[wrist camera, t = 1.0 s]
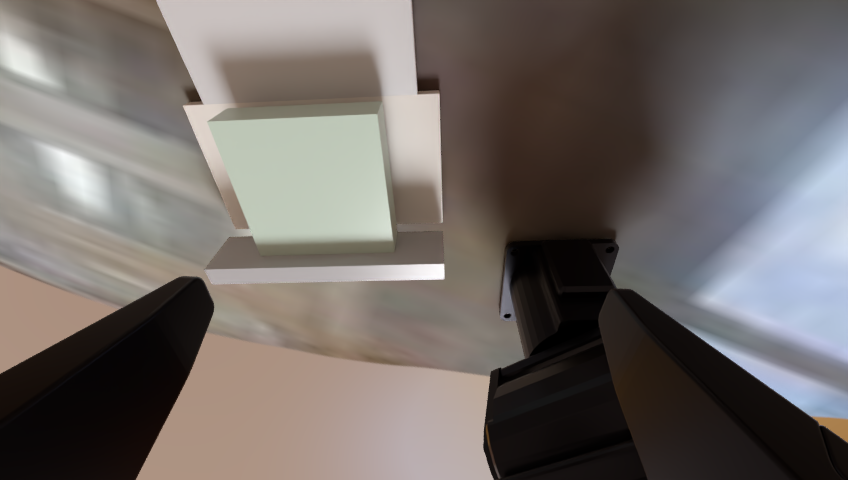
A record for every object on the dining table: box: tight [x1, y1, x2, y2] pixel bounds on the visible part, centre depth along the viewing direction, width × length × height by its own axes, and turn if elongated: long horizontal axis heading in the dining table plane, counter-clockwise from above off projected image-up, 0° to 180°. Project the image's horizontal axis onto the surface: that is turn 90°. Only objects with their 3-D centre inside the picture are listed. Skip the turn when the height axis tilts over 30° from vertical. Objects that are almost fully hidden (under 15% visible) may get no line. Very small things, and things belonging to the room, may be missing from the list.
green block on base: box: [204, 101, 444, 284], centre depth 18 cm, size 8×12×4 cm, turn 93°
